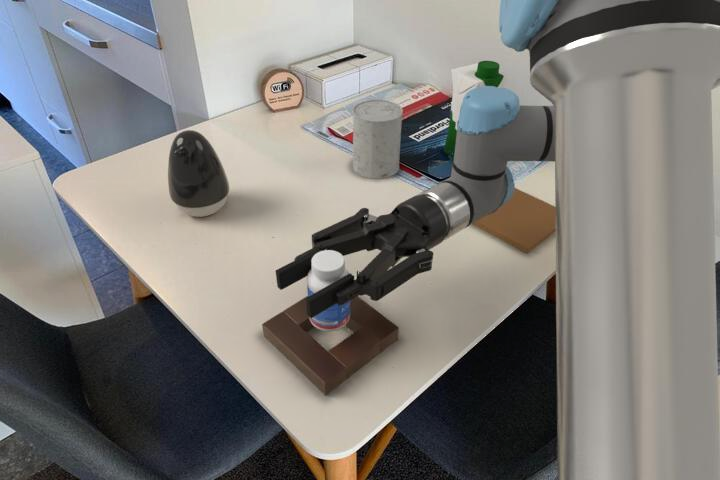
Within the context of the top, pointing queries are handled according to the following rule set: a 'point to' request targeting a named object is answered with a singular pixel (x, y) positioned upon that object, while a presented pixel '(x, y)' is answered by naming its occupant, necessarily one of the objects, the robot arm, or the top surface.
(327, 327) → the pill bottle
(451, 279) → the top surface
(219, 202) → the black egg-shaped figure
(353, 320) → the socket base
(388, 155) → the concrete cylinder
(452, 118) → the milk carton
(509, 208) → the cork pad
